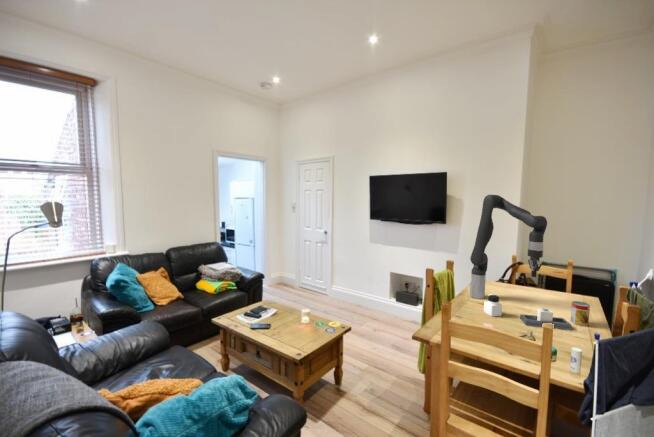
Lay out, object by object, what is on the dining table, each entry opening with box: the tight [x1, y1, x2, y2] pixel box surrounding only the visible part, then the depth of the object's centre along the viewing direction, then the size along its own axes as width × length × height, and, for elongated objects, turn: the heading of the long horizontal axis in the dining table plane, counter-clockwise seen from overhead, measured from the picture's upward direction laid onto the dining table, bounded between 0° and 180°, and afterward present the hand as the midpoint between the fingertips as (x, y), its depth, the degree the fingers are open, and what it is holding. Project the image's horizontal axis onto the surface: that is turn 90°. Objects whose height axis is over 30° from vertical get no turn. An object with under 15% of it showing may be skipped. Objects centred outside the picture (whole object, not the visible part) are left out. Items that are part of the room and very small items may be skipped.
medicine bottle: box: [483, 293, 503, 317], centre depth 182 cm, size 7×7×12 cm
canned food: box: [570, 300, 591, 327], centre depth 168 cm, size 8×8×12 cm
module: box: [536, 307, 554, 322], centre depth 168 cm, size 6×4×8 cm, turn 75°
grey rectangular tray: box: [519, 313, 572, 331], centre depth 168 cm, size 22×10×3 cm, turn 75°
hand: (533, 276), depth 176 cm, fingers closed
